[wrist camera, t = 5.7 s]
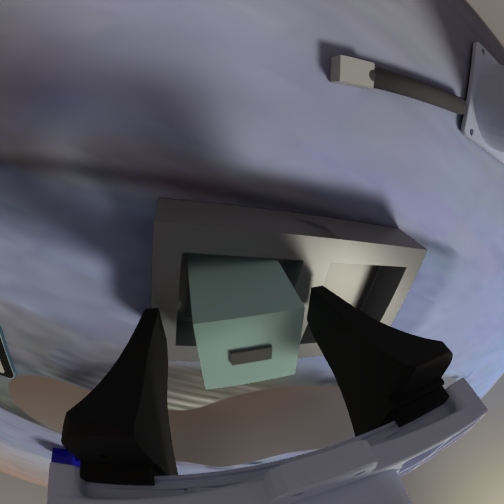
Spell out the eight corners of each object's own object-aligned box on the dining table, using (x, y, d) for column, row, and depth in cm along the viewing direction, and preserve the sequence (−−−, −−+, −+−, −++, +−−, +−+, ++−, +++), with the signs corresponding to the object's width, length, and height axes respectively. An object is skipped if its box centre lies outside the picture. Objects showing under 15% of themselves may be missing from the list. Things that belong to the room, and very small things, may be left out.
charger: (268, 244, 15) (306, 309, 10) (266, 306, 17) (295, 376, 12) (186, 253, 14) (193, 327, 9) (195, 316, 16) (206, 392, 11)
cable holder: (53, 446, 24) (50, 472, 20) (73, 448, 24) (71, 475, 21) (84, 468, 28) (84, 491, 24) (104, 469, 28) (104, 493, 25)
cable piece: (458, 97, 14) (471, 99, 13) (457, 115, 15) (469, 118, 14) (330, 57, 12) (341, 54, 11) (329, 82, 13) (340, 81, 11)
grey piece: (399, 228, 18) (427, 249, 15) (358, 322, 21) (377, 348, 19) (159, 198, 14) (153, 221, 11) (153, 323, 17) (152, 359, 14)
